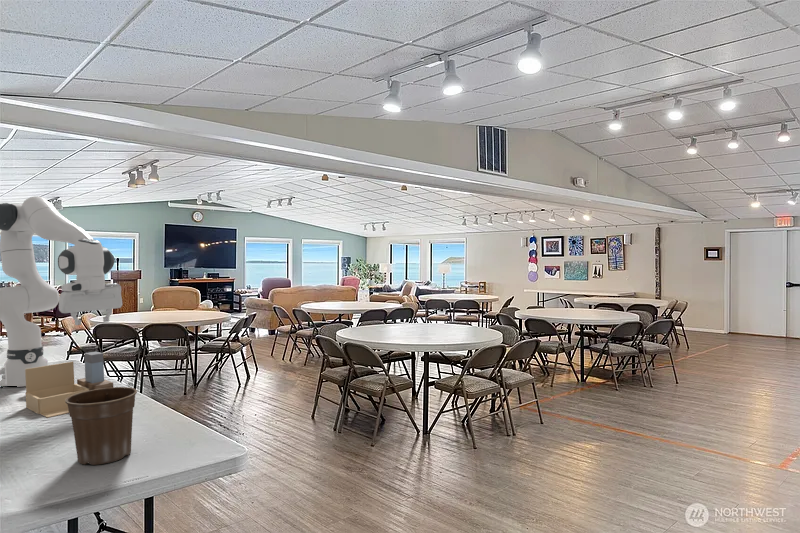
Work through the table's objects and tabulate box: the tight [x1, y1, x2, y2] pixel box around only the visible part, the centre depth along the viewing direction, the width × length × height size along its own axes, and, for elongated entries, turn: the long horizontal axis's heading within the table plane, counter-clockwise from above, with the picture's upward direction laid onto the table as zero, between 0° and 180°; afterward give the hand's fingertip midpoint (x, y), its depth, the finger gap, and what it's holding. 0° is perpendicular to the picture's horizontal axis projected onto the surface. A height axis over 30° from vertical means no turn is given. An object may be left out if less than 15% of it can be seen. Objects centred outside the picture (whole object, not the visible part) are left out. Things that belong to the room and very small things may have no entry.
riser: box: [76, 377, 114, 391], centre depth 200 cm, size 16×6×6 cm, turn 50°
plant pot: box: [65, 386, 138, 466], centre depth 143 cm, size 16×16×16 cm
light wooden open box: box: [25, 361, 89, 419], centre depth 188 cm, size 20×16×13 cm
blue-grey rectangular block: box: [83, 351, 105, 383], centre depth 199 cm, size 6×4×10 cm, turn 50°
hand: (92, 323), depth 199 cm, fingers open, 8 cm apart
